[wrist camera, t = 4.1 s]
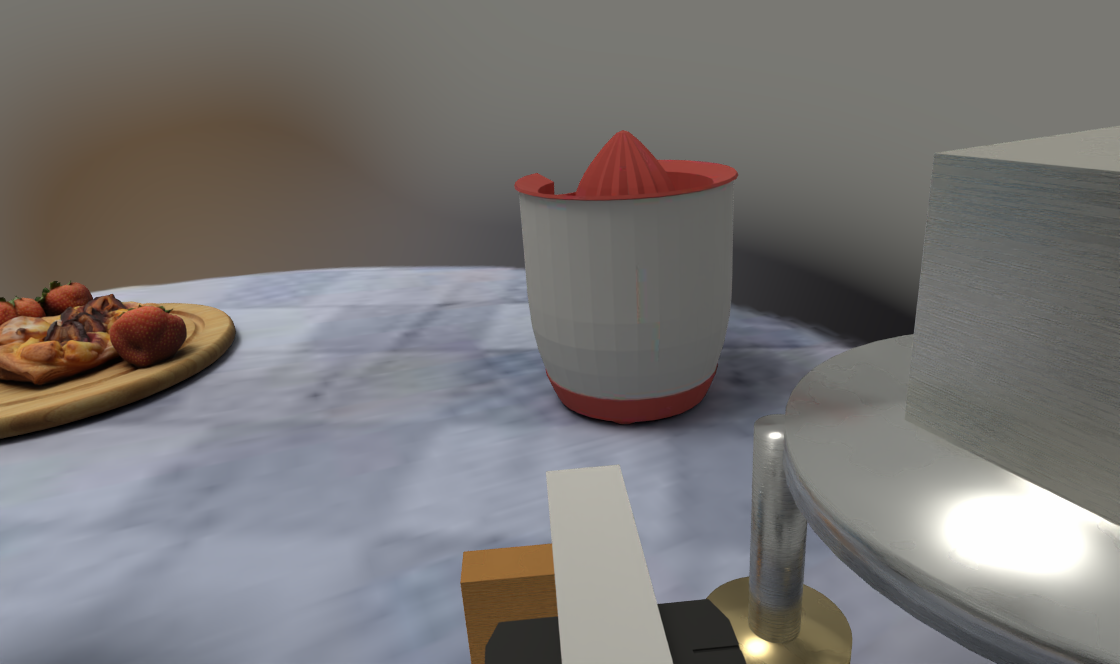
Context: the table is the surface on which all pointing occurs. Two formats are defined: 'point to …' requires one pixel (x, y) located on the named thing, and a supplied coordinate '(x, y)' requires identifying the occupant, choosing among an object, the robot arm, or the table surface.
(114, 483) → the table surface
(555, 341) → the citrus juicer
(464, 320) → the table surface
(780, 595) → the lever
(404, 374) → the table surface
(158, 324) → the wooden plate with food
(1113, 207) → the tribrach stand
